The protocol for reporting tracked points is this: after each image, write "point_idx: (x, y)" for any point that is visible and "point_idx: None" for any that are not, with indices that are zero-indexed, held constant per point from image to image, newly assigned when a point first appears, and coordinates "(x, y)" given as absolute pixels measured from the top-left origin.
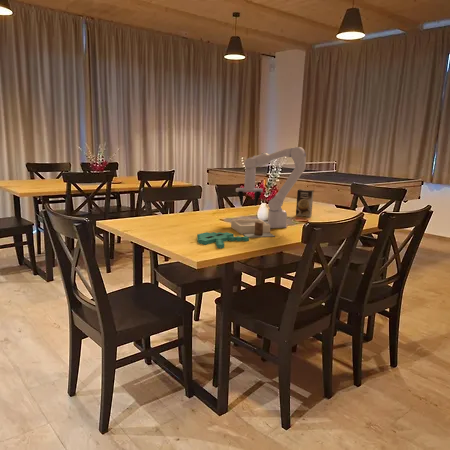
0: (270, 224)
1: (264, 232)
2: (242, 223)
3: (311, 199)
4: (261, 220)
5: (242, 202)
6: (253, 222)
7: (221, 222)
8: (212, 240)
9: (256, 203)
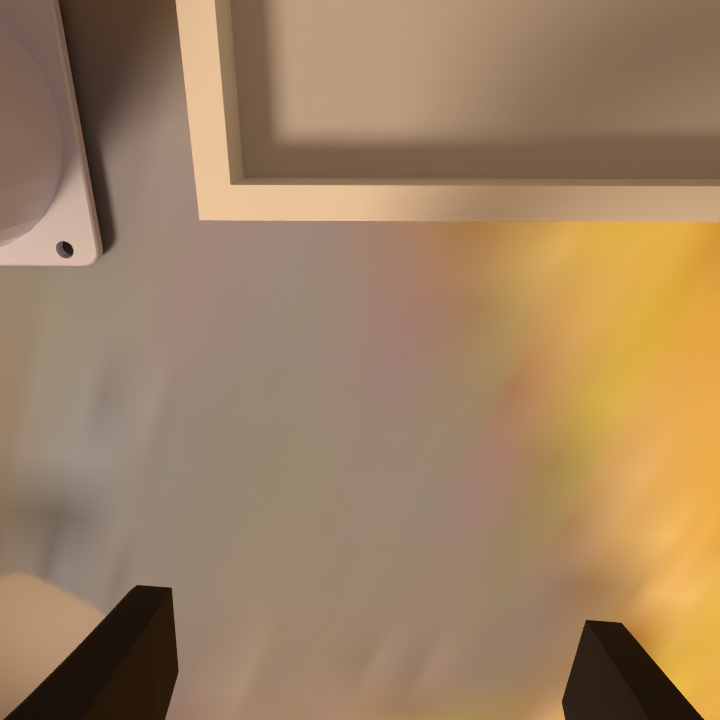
0: (6, 51)
1: None
2: (643, 77)
3: None
4: (190, 22)
5: (656, 705)
6: (358, 151)
7: (711, 544)
8: None
9: (102, 634)
